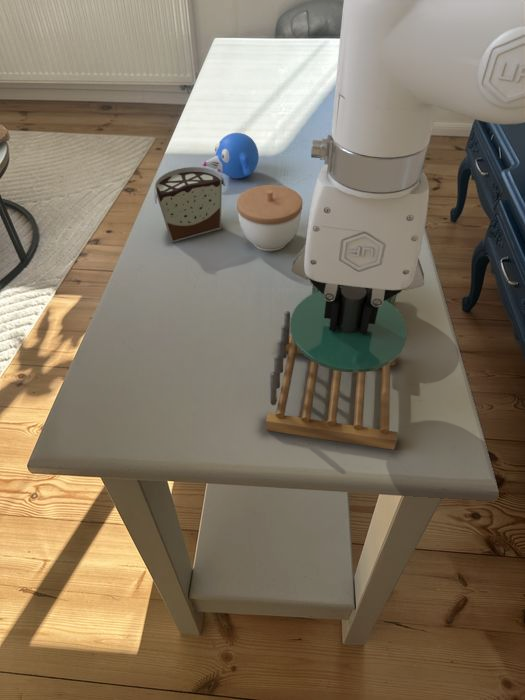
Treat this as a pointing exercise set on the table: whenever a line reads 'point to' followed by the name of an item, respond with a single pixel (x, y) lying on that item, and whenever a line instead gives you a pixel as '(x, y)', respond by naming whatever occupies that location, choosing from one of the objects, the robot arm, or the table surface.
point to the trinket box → (269, 216)
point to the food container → (190, 201)
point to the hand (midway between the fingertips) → (348, 322)
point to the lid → (348, 333)
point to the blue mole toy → (235, 156)
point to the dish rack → (329, 428)
